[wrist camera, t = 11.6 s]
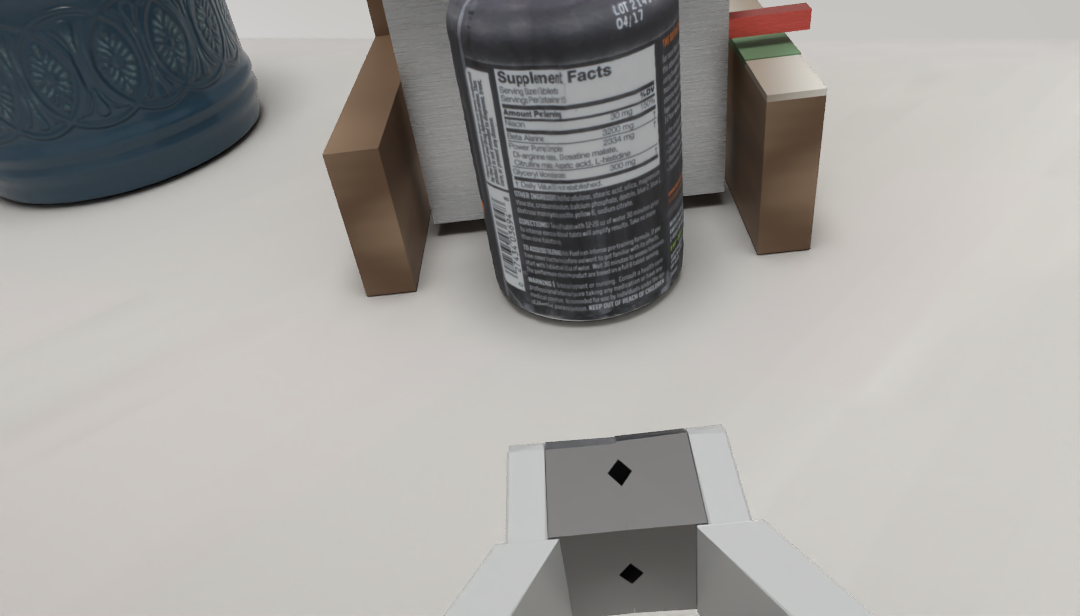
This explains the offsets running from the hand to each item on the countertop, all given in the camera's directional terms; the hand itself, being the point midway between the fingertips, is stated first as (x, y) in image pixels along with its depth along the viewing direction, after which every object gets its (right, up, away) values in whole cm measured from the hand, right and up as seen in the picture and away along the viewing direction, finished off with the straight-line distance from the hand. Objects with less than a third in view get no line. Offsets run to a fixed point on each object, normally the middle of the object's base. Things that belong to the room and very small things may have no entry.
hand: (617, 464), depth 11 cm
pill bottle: (+1, +3, +14) cm, 14 cm away
